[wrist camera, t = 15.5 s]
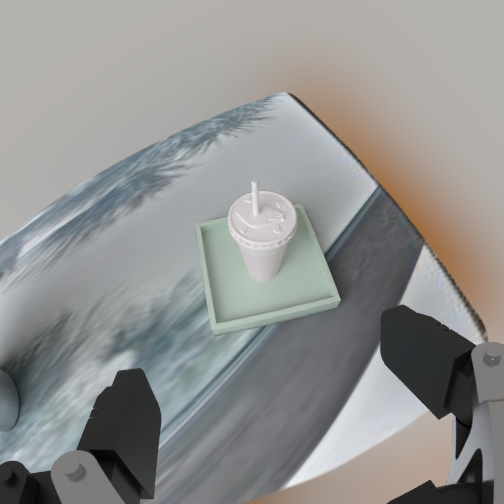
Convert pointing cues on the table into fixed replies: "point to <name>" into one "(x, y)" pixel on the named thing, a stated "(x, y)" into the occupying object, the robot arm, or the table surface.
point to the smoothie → (262, 229)
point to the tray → (263, 292)
